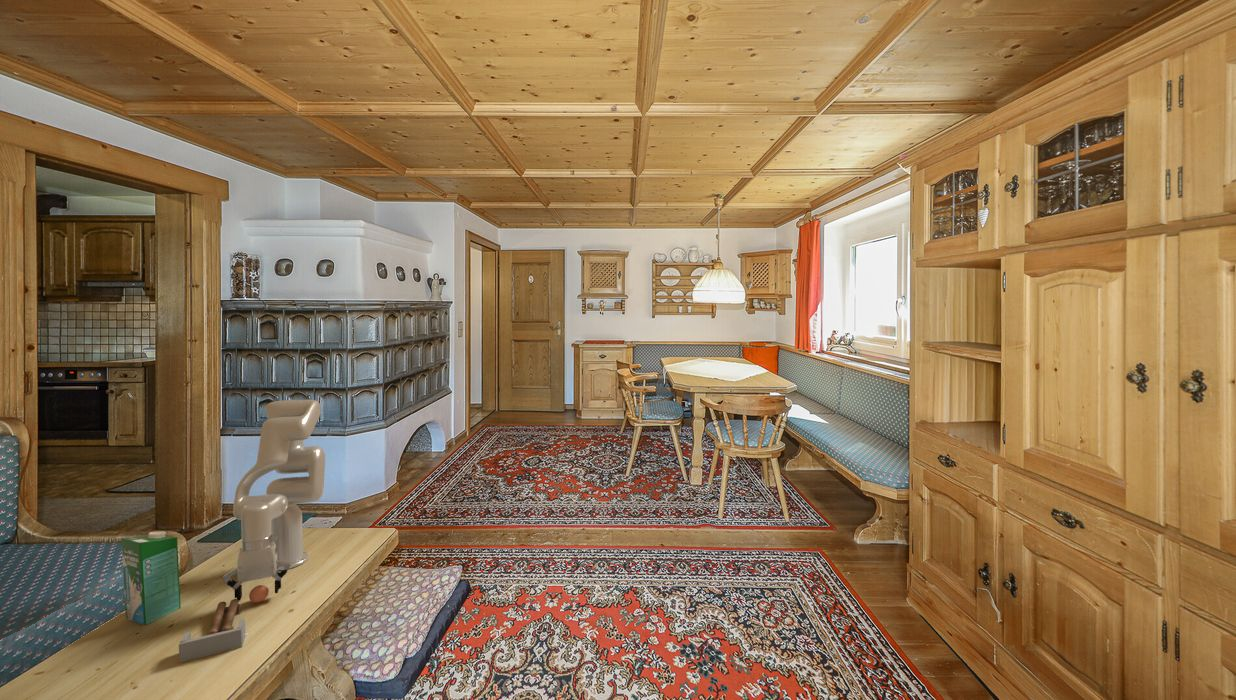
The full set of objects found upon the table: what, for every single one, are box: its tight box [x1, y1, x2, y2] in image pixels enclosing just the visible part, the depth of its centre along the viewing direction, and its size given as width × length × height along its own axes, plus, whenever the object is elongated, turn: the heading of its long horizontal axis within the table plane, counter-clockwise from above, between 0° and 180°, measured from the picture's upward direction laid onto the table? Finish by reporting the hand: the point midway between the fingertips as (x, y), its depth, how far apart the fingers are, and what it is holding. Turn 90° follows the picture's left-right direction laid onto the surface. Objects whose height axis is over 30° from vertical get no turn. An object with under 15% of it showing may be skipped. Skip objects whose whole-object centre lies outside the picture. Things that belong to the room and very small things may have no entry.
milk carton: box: [121, 530, 182, 626], centre depth 144 cm, size 9×9×25 cm
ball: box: [248, 584, 270, 604], centre depth 152 cm, size 5×5×5 cm
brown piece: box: [207, 598, 241, 635], centre depth 140 cm, size 12×6×4 cm, turn 29°
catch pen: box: [178, 618, 247, 663], centre depth 130 cm, size 5×13×5 cm, turn 119°
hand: (258, 595), depth 152 cm, fingers open, 9 cm apart
